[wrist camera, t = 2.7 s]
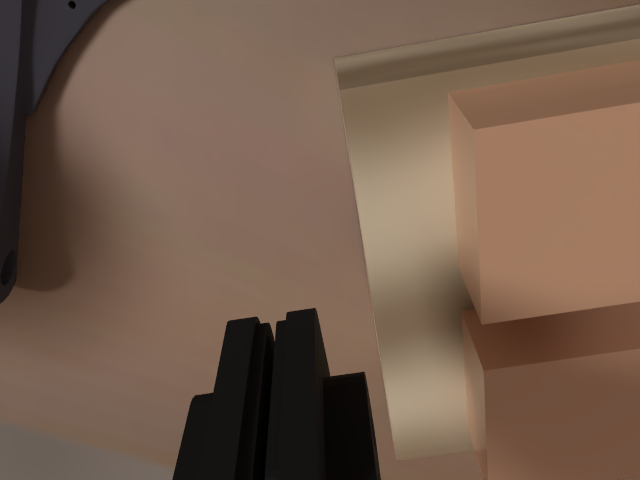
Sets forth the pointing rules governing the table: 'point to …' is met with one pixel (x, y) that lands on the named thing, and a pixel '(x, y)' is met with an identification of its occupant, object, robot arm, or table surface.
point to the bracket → (27, 96)
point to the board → (438, 198)
